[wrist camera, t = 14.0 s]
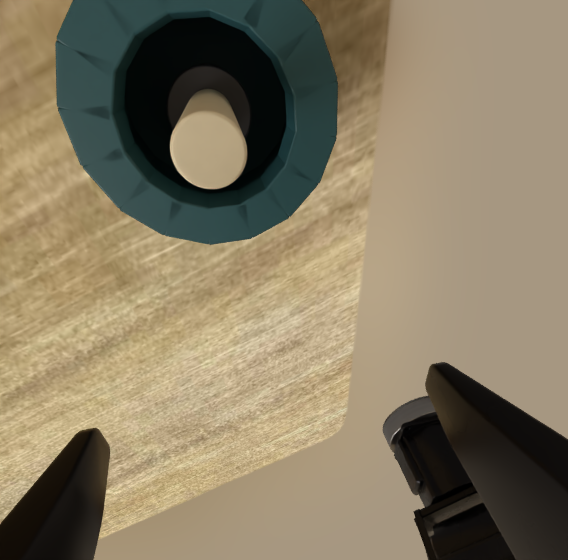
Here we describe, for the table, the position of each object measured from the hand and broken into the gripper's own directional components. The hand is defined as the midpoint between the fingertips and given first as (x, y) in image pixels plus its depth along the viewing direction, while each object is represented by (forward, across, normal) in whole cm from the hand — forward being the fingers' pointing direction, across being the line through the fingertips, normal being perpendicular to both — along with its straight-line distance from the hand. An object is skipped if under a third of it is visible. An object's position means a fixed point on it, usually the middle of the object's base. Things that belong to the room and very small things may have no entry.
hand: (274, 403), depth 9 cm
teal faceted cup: (+12, +1, -6) cm, 14 cm away
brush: (+12, +1, -6) cm, 13 cm away
